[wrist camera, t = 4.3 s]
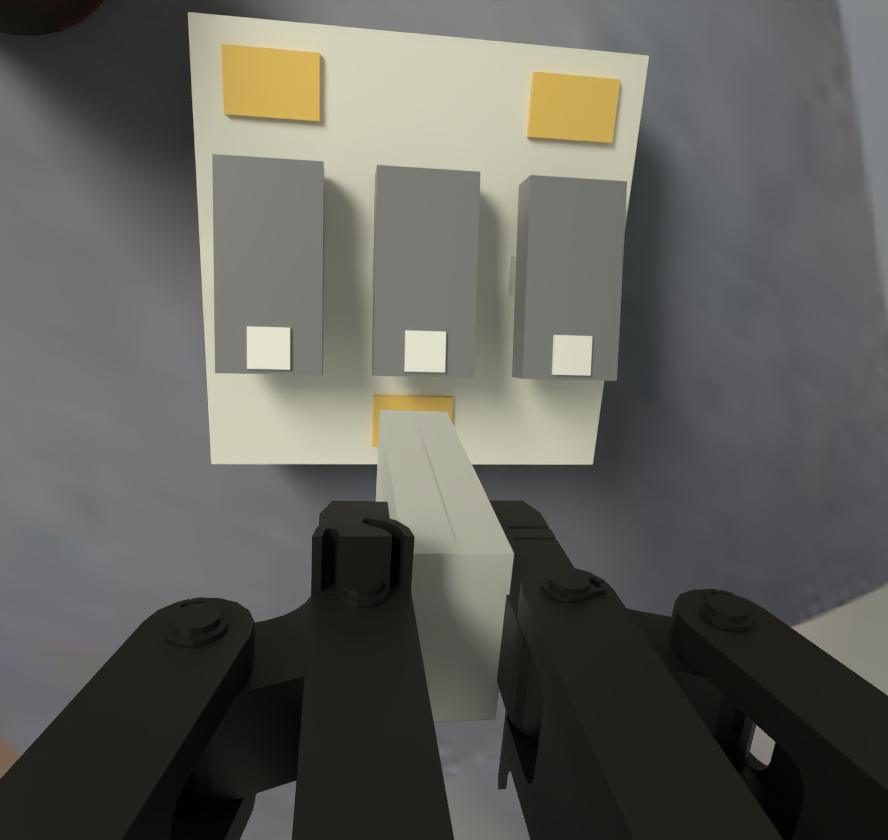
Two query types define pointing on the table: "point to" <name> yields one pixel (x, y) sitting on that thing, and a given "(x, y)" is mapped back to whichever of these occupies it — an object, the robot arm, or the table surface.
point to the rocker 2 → (425, 272)
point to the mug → (43, 15)
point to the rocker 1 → (268, 265)
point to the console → (352, 217)
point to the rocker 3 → (568, 278)
